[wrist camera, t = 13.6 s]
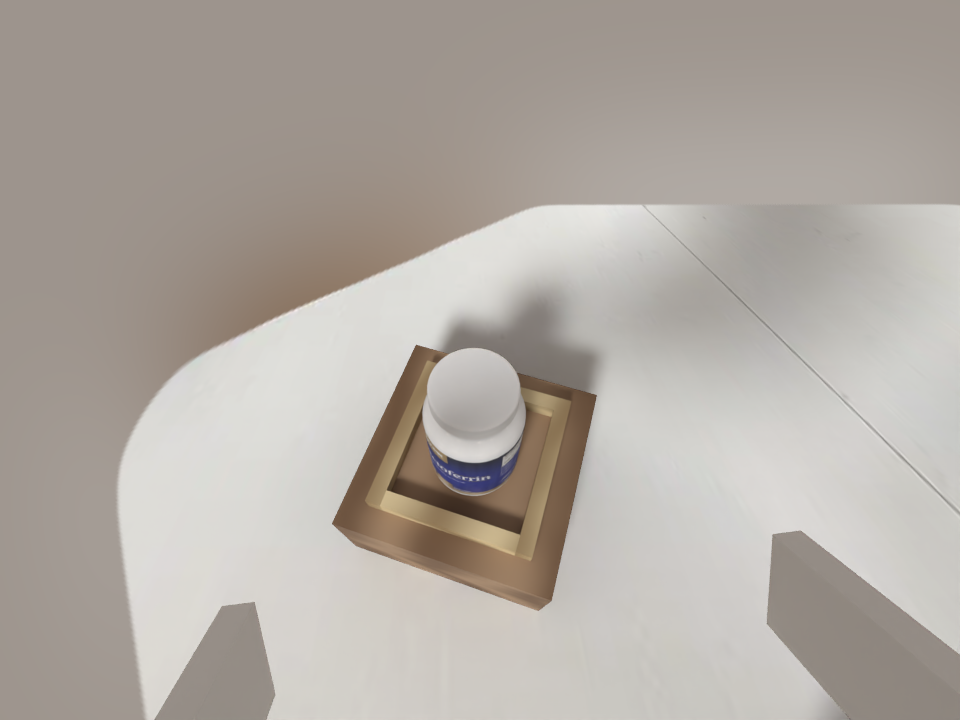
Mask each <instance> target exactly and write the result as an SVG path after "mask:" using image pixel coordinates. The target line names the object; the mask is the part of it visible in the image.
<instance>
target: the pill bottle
mask: <svg viewBox="0 0 960 720" xmlns="http://www.w3.org/2000/svg"><path fill="white" fill-rule="evenodd" d="M422 414H423V426H424V430H425V434H426V439H427V444H428V447H429V452H430V457H431V461H432V464H433V467H434V470H435V472H436V474H437V476H438V477H439V479H440V480H441V481H442V482H443V483H444V484H445V485H446V486H447V487H448V488H450V489H451V490H453V491H455V492H457V493H460V494H464V495H469V496H480V495H485V494H488V493H491V492H493V491H495V490H497V489H498V488H500V487H501V486H502V485H503V484H504V483H505V482H506V481H507V480H508V479H509V478H510V476H511V475H512V473H513V471H514V468H515V465H516V462H517V458H518V454H519V449H520V445H521V440H522V436H523V431H524V428H525V420H526V408H525V403H524V400H523V397H522V395H521V389H520V382H519V378H518V375H517V373H516V371H515V369H514V368H513V366H512V365H511V364H510V363H509V362H508V361H507V360H506V359H505V358H504V357H502V356H501V355H499V354H497V353H495V352H493V351H490V350H487V349H483V348H465V349H460V350H457V351H454V352H452V353H450V354H448V355H447V356H445V357H444V358H443V359H441V360H440V361H439V362H438V363H437V364H436V366H435V367H434V368H433V370H432V372H431V374H430V376H429V379H428V384H427V395H426V398H425V401H424V405H423V412H422Z"/></svg>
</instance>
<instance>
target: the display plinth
mask: <svg viewBox="0 0 960 720" xmlns="http://www.w3.org/2000/svg"><path fill="white" fill-rule="evenodd" d="M447 355H448V354H447V353H444V352H440V351H436V350H433V349H429V348H426V347H422V346H418V345H416V346H415V348H414V350H413V352H412V355H411V357H410V359H409V361H408V363H407V365H406V367H405V369H404V372H403V374H402V376H401V378H400V380H399V382H398V384H397V386H396V389H395V391H394V393H393V395H392V397H391V399H390V401H389V403H388V406H387V408H386V410H385V412H384V414H383V416H382V418H381V420H380V423H379V425H378V427H377V429H376V431H375V433H374V435H373V437H372V440H371V442H370V444H369V446H368V448H367V450H366V452H365V454H364V457H363V459H362V461H361V463H360V465H359V467H358V469H357V472H356V474H355V476H354V478H353V480H352V482H351V484H350V486H349V489H348V491H347V493H346V495H345V497H344V499H343V501H342V503H341V506H340V508H339V510H338V512H337V514H336V516H335V518H334V520H333V523H332V524H333V525H334V526H335V527H336V528H337V529H338V530H339V531H340V532H342V533H343V534H344V535H345V536H346V537H347V538H348V539H349V540H350V541H351V542H352V543H353V544H355V545H356V546H358V547H361V548H364V549H366V550H369V551H372V552H375V553H378V554H380V555H383V556H386V557H389V558H392V559H394V560H397V561H400V562H403V563H406V564H408V565H411V566H414V567H417V568H420V569H422V570H425V571H428V572H431V573H434V574H437V575H439V576H442V577H445V578H448V579H451V580H453V581H456V582H459V583H462V584H465V585H467V586H470V587H473V588H476V589H479V590H481V591H484V592H487V593H490V594H493V595H495V596H498V597H501V598H504V599H507V600H509V601H512V602H515V603H518V604H521V605H524V606H526V607H529V608H532V609H535V610H538V611H539V610H540V609H541V608H543V607H544V606H545V605H547V604H548V603H549V602H551V601H552V596H553V592H554V587H555V583H556V578H557V574H558V569H559V564H560V560H561V555H562V551H563V546H564V542H565V537H566V533H567V528H568V524H569V519H570V515H571V510H572V506H573V501H574V497H575V492H576V487H577V483H578V478H579V474H580V469H581V465H582V460H583V456H584V451H585V447H586V442H587V438H588V433H589V429H590V424H591V419H592V415H593V410H594V406H595V401H596V397H597V395H594V394H591V393H587V392H583V391H580V390H576V389H573V388H569V387H566V386H562V385H558V384H555V383H551V382H548V381H544V380H540V379H537V378H533V377H530V376H526V375H522V374H519V373H517V375H518V378H519V382H520V389H521V395H522V397H523V400H524V403H525V408H526V420H525V428H524V431H523V436H522V440H521V445H520V449H519V454H518V458H517V462H516V465H515V468H514V471H513V473H512V475H511V476H510V478H509V479H508V480H507V481H506V482H505V483H504V484H503V485H502V486H501V487H500V488H498V489H497V490H495V491H493V492H491V493H488V494H485V495H480V496H469V495H464V494H460V493H457V492H455V491H453V490H451V489H450V488H448V487H447V486H446V485H445V484H444V483H443V482H442V481H441V480H440V479H439V477H438V476H437V474H436V472H435V470H434V467H433V464H432V461H431V457H430V452H429V447H428V444H427V439H426V434H425V430H424V426H423V414H422V412H423V405H424V401H425V398H426V395H427V384H428V379H429V376H430V374H431V372H432V370H433V368H434V367H435V366H436V364H437V363H438V362H439V361H440V360H441V359H443V358H444V357H445V356H447Z"/></svg>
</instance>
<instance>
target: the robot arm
mask: <svg viewBox="0 0 960 720" xmlns="http://www.w3.org/2000/svg"><path fill="white" fill-rule="evenodd" d="M767 625H768V626H769V627H770V628H771V629H772V630H773V631H774V633H775V634H776V635H777V636H778V637H779V638H780V639H781V641H782V642H783V643H784V644H785V645H786V646H787V647H788V649H789V650H790V651H791V652H792V653H793V654H794V655H795V657H796V658H797V659H798V660H799V661H800V662H801V663H802V665H803V666H804V667H805V668H806V669H807V670H808V671H809V673H810V674H811V675H812V676H813V677H814V678H815V679H816V681H817V682H818V683H819V684H820V685H821V686H822V687H823V689H824V690H825V691H826V692H827V693H828V694H829V695H830V697H831V698H832V699H833V700H834V701H835V702H836V703H837V705H838V706H839V707H840V708H841V709H842V710H843V711H844V713H845V714H846V715H847V716H848V717H849V718H850V719H851V720H960V655H959V654H958V653H957V652H956V651H954V650H953V649H952V648H950V647H949V646H948V645H947V644H945V643H944V642H943V641H941V640H940V639H939V638H938V637H936V636H935V635H934V634H932V633H931V632H930V631H929V630H927V629H926V628H925V627H924V626H922V625H921V624H920V623H918V622H917V621H916V620H915V619H913V618H912V617H911V616H909V615H908V614H907V613H906V612H904V611H903V610H902V609H900V608H899V607H898V606H897V605H895V604H894V603H893V602H891V601H890V600H889V599H888V598H886V597H885V596H884V595H883V594H881V593H880V592H879V591H877V590H876V589H875V588H874V587H872V586H871V585H870V584H868V583H867V582H866V581H865V580H863V579H862V578H861V577H859V576H858V575H857V574H856V573H854V572H853V571H852V570H851V569H849V568H848V567H847V566H845V565H844V564H843V563H842V562H840V561H839V560H838V559H836V558H835V557H834V556H833V555H831V554H830V553H829V552H827V551H826V550H825V549H824V548H822V547H821V546H820V545H818V544H817V543H816V542H815V541H813V540H812V539H811V538H810V537H808V536H807V535H806V534H804V533H803V532H802V531H795V532H787V533H779V534H773V538H772V553H771V568H770V583H769V598H768V613H767ZM274 697H275V690H274V686H273V681H272V677H271V672H270V668H269V664H268V659H267V655H266V650H265V646H264V642H263V637H262V633H261V628H260V624H259V619H258V615H257V611H256V606H255V602H251V603H244V604H236V605H228V606H222V607H221V609H220V610H219V612H218V614H217V616H216V617H215V619H214V621H213V622H212V624H211V626H210V627H209V629H208V631H207V632H206V634H205V636H204V637H203V639H202V641H201V642H200V644H199V646H198V647H197V649H196V651H195V652H194V654H193V656H192V658H191V659H190V661H189V663H188V664H187V666H186V668H185V669H184V671H183V673H182V674H181V676H180V678H179V679H178V681H177V683H176V684H175V686H174V688H173V689H172V691H171V693H170V694H169V696H168V698H167V699H166V701H165V703H164V705H163V706H162V708H161V710H160V711H159V713H158V715H157V716H156V718H155V720H266V719H267V716H268V713H269V711H270V708H271V705H272V702H273V699H274Z"/></svg>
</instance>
